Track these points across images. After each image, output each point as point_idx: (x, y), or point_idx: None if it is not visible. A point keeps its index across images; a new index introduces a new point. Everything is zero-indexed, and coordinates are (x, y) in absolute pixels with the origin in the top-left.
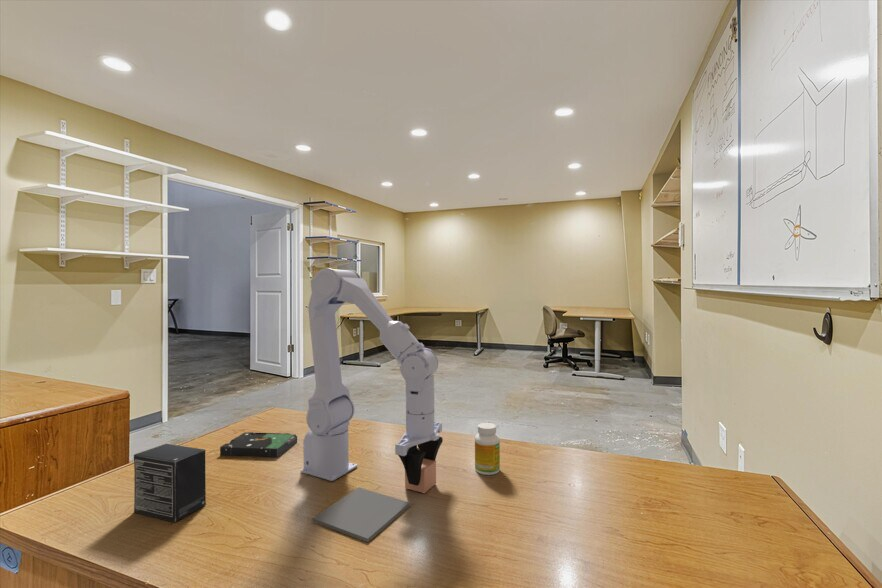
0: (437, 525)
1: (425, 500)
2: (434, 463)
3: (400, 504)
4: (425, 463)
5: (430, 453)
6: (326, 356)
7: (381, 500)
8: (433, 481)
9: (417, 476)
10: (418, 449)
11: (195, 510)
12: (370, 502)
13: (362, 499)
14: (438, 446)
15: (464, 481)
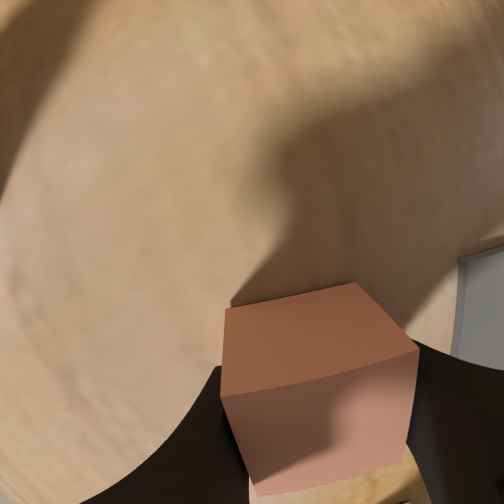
0: (485, 77)
1: (396, 234)
2: (248, 384)
3: (488, 281)
4: (314, 420)
5: (227, 477)
6: None
7: (485, 352)
8: (256, 314)
9: (425, 349)
10: (498, 493)
11: None
12: (498, 364)
13: None
14: (151, 497)
15: (89, 199)
